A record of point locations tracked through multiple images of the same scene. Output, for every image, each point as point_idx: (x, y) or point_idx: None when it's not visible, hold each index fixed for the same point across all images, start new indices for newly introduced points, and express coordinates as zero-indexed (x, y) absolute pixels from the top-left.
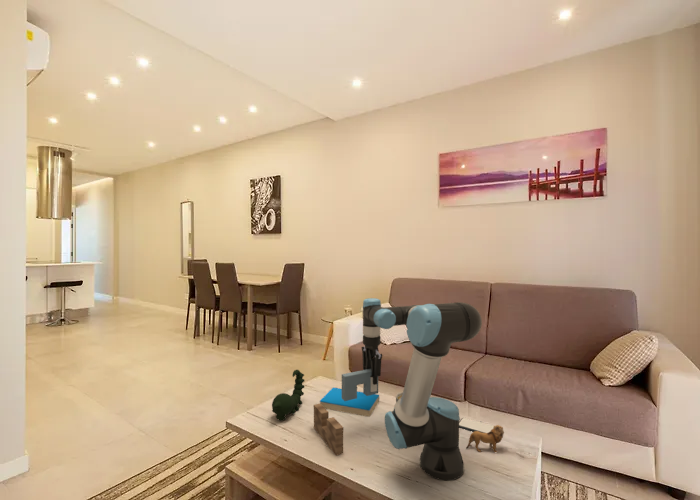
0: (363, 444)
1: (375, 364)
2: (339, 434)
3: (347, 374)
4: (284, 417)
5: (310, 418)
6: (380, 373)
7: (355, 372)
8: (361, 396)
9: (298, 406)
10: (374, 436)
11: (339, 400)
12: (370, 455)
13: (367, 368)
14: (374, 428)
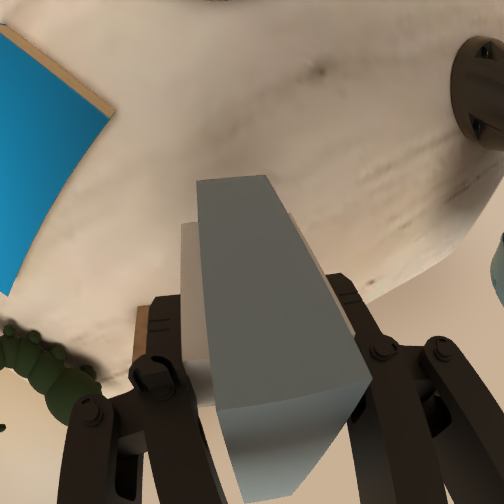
0: (305, 220)
1: (473, 502)
2: None
3: (265, 496)
4: (93, 374)
5: (83, 317)
6: (468, 364)
7: (260, 488)
8: None
9: (30, 339)
10: (282, 161)
11: (1, 231)
12: (362, 224)
13: (213, 464)
14: (226, 132)
